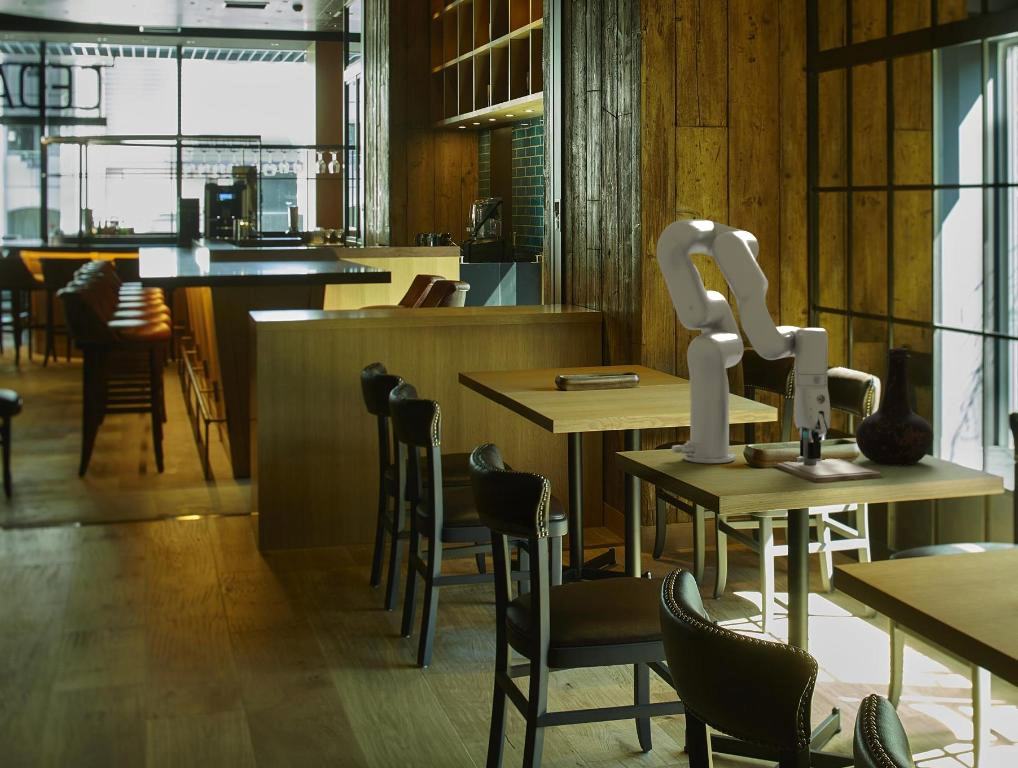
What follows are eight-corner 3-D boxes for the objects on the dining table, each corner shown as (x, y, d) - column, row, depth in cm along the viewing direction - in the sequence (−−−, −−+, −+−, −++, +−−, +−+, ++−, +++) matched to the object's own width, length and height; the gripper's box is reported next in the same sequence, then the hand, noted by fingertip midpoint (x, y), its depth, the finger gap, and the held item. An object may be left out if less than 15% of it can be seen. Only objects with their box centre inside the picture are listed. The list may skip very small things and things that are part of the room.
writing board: (815, 482, 284) (815, 472, 284) (774, 466, 303) (774, 457, 303) (882, 477, 289) (882, 467, 288) (837, 462, 308) (837, 453, 308)
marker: (806, 465, 297) (805, 432, 296) (801, 463, 300) (801, 430, 299) (818, 464, 298) (817, 431, 297) (813, 462, 301) (813, 429, 300)
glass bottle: (844, 465, 304) (846, 349, 301) (870, 453, 319) (873, 343, 315) (918, 472, 294) (921, 353, 291) (942, 460, 308) (945, 346, 305)
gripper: (843, 383, 290) (842, 462, 292) (808, 376, 305) (807, 450, 308) (813, 385, 288) (812, 464, 290) (780, 377, 303) (779, 452, 306)
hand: (810, 456), depth 299 cm, fingers closed on marker, 2 cm apart
